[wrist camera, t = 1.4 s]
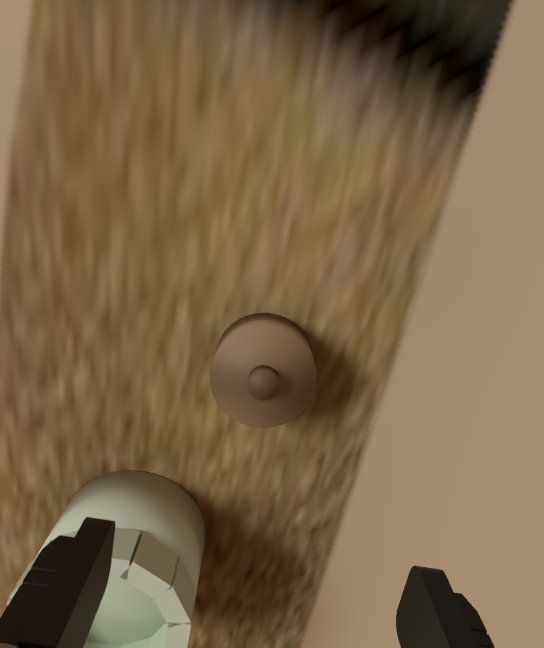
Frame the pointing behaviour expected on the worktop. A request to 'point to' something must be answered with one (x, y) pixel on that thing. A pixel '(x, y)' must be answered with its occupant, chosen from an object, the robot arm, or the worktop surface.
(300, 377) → the lid
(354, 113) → the worktop surface
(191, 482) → the worktop surface
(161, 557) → the jar
